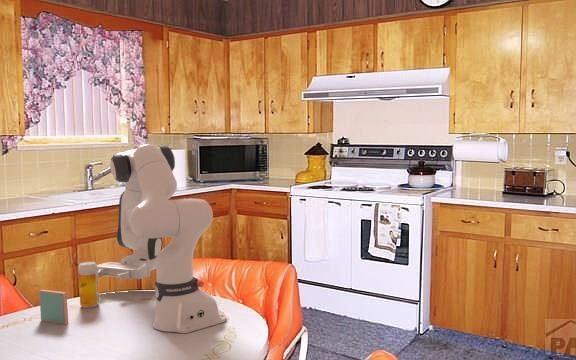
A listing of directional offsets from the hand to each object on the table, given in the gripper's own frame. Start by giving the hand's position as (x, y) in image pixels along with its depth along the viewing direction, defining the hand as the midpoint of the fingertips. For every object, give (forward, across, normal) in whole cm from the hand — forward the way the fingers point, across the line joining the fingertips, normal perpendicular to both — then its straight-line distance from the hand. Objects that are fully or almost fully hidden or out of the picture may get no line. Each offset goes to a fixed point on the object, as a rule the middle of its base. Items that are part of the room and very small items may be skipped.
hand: (107, 276), depth 196 cm
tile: (+26, 0, +8) cm, 27 cm away
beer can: (+10, 0, +8) cm, 12 cm away
